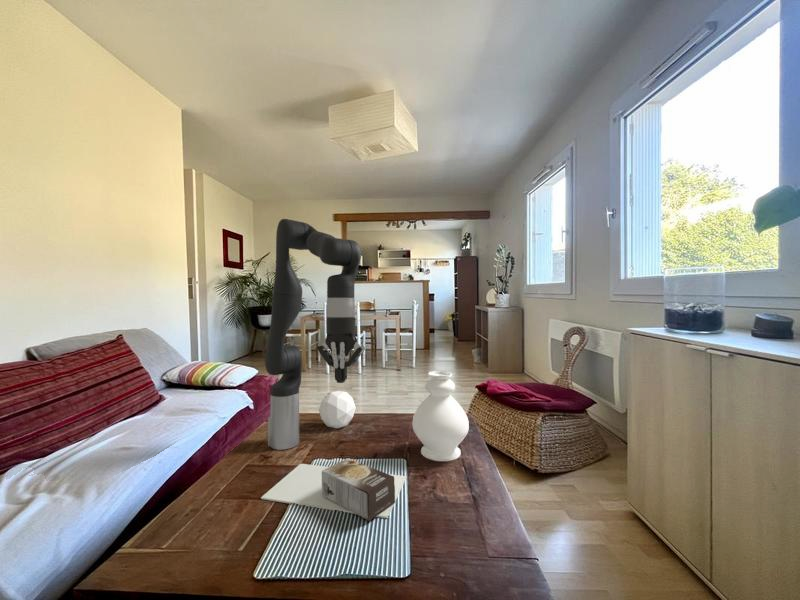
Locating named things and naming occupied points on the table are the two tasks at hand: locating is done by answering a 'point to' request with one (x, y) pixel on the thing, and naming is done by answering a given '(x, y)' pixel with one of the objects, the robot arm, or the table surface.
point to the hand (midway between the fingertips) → (341, 382)
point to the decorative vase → (440, 419)
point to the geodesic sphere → (337, 409)
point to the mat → (314, 489)
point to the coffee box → (358, 488)
